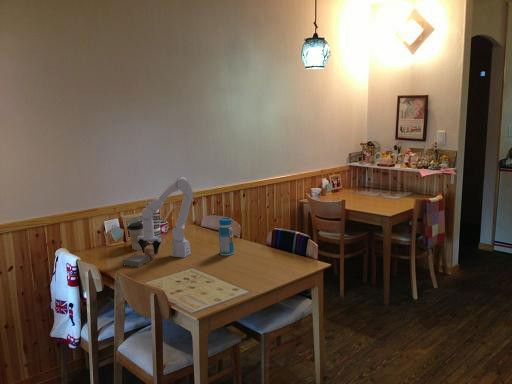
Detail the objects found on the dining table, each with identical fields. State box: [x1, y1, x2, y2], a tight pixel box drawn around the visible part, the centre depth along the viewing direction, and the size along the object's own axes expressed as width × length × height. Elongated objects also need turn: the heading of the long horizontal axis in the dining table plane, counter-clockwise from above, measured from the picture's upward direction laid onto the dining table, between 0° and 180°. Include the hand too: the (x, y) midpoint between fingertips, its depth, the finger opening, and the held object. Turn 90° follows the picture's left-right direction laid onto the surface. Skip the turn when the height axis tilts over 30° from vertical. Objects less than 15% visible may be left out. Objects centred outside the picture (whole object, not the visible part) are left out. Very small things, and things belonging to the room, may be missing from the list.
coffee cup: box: [127, 222, 144, 251], centre depth 274 cm, size 9×9×15 cm
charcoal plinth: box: [122, 253, 151, 267], centre depth 251 cm, size 10×10×3 cm
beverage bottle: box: [218, 217, 235, 256], centre depth 260 cm, size 8×8×20 cm
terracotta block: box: [144, 245, 157, 260], centre depth 259 cm, size 4×4×6 cm
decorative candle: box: [145, 201, 163, 244], centre depth 287 cm, size 9×9×25 cm
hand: (150, 253), depth 259 cm, fingers open, 7 cm apart
